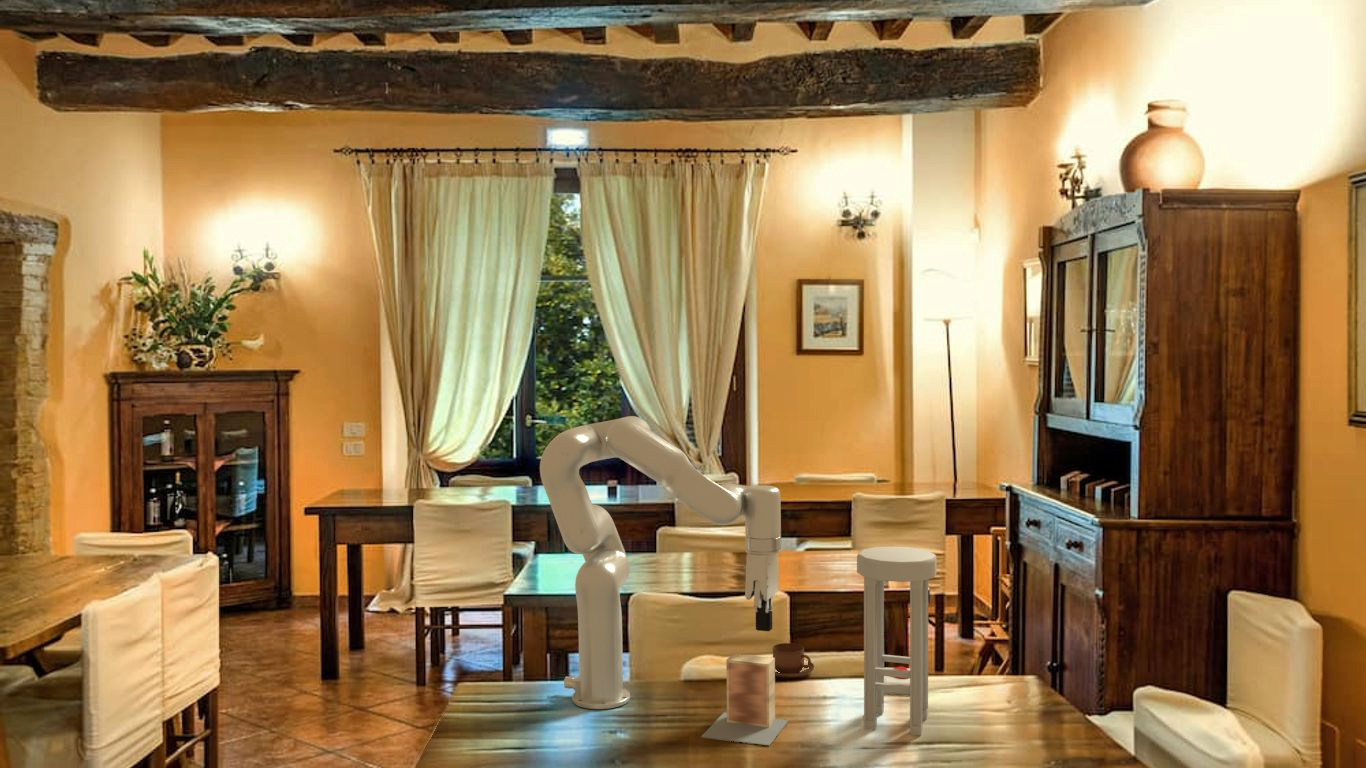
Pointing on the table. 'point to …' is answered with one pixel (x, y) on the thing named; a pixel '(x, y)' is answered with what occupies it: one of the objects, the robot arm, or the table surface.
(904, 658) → the stool
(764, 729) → the mat
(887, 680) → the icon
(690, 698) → the table surface
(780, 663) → the cup and saucer
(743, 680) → the slab
